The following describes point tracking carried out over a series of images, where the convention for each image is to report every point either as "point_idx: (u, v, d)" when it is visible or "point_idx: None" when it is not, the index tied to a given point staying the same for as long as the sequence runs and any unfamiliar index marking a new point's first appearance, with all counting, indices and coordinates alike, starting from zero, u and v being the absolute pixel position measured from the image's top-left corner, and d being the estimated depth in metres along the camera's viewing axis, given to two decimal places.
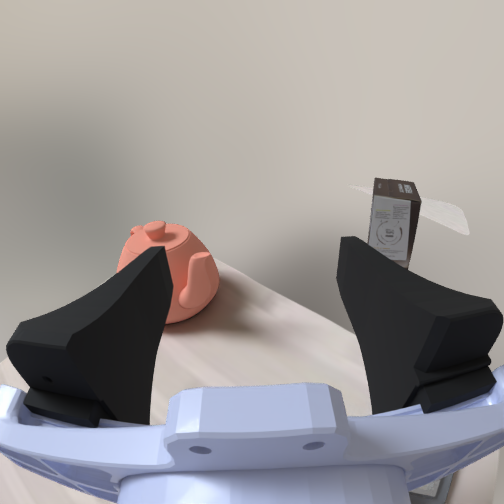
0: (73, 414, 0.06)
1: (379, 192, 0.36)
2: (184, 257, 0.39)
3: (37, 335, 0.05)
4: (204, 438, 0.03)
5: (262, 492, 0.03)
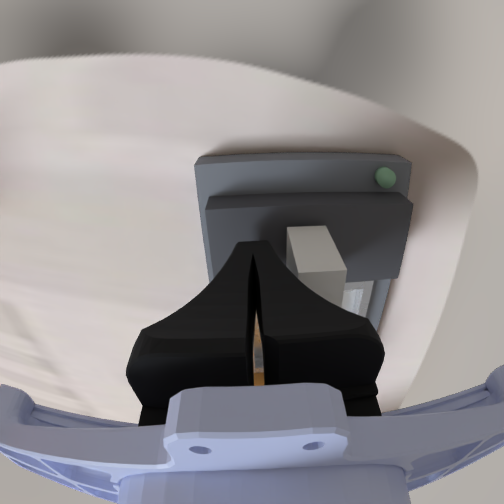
0: None
1: None
2: None
3: (190, 344, 0.05)
4: (203, 439, 0.03)
5: (262, 492, 0.03)
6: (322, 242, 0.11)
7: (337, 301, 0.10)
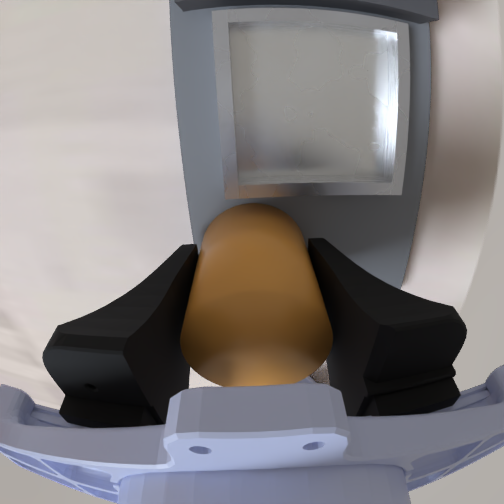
0: (120, 423, 0.06)
1: None
2: None
3: (83, 340, 0.05)
4: (203, 438, 0.03)
5: (262, 492, 0.03)
6: None
7: None
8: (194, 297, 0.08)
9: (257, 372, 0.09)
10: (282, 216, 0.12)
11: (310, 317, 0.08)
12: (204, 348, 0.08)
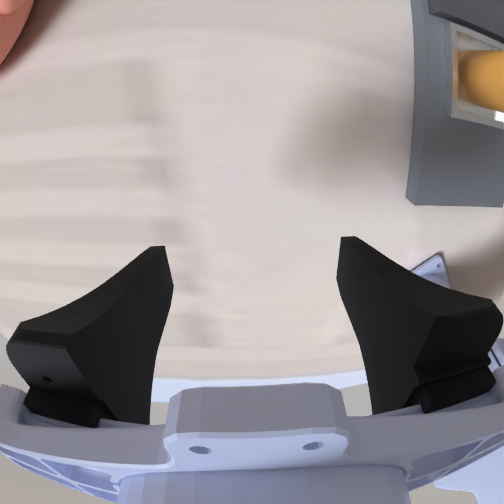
0: (73, 414, 0.06)
1: None
2: None
3: (37, 335, 0.05)
4: (204, 439, 0.03)
5: (262, 492, 0.03)
6: None
7: None
8: None
9: None
10: None
11: None
12: None
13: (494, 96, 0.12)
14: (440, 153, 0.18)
